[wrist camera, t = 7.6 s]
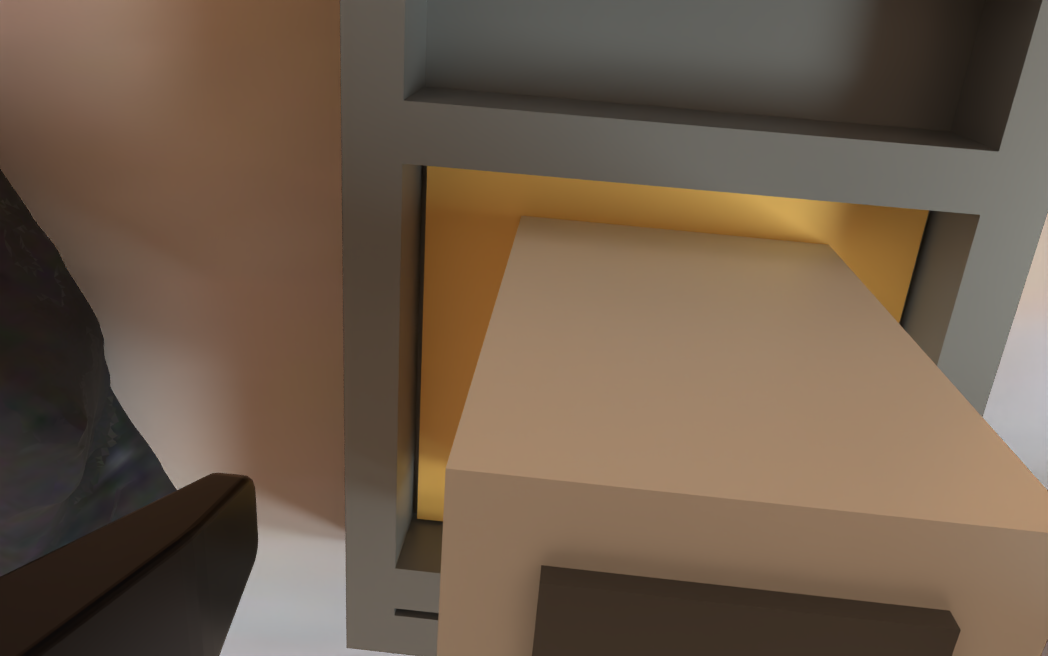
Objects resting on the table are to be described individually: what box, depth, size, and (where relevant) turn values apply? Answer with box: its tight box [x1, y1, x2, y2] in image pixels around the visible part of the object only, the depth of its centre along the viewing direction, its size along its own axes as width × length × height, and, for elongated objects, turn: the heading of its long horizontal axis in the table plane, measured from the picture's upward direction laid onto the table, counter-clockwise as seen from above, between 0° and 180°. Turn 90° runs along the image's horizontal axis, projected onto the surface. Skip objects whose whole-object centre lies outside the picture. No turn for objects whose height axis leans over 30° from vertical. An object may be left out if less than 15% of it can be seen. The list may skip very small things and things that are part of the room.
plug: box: [437, 216, 1048, 656], centre depth 10 cm, size 4×4×7 cm
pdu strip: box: [340, 0, 1048, 656], centre depth 9 cm, size 20×9×8 cm, turn 176°
